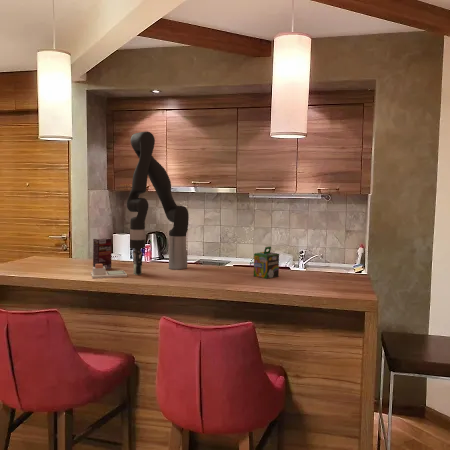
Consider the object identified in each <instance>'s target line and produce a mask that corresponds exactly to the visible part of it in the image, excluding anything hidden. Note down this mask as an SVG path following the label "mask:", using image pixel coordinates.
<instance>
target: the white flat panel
mask: <svg viewBox="0 0 450 450" xmlns="http://www.w3.org/2000/svg"><path fill="white" fill-rule="evenodd" d="M90 276H91V278H92V279H109V278H127V277H128V274H127V273H126V272H125V270H123V269H122V270H106V275H93V271H90Z"/></svg>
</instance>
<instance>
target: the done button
mask: <svg viewBox="0 0 450 450" xmlns="http://www.w3.org/2000/svg"><path fill="white" fill-rule="evenodd" d="M95 268H103V264H95Z"/></svg>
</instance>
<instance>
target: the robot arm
mask: <svg viewBox="0 0 450 450" xmlns="http://www.w3.org/2000/svg"><path fill="white" fill-rule="evenodd" d="M155 142H156V140H155V136H154V134H153V133H152V132H151V131H147V130H146V131H140V132H136V133H133V134H132V135H131V137H130V145H131V147H132V149H133V151H134V153H135V154H136V156H137V157H138V159H139V160H138V162H137V164H136V167H135V169H134V172H133V174H132V182H131V189H130V192H129V195H128V198H127V200H126V207H127V210H128V212H131V213H137V215H136V216H132V217H131V218H130V220H129V221H130V222H129V223H130V225H129V228H130V230H129V231H130V232H129V248H130V249H133V250H134V251H132V257H133V258H132V259H133V263H134V262H136V274H140V275H142V274H141V265H142V266H143V255H144V254H143V252H142V249H145V248H146V219H147V214H148V212H149V211H148V210H149V202H148V200H147V199H146V198H145V197H140V196H141V194H145V193H146V191H147V183H148V179H149V181H150V183H151V185H152V187H153V189H154V190H155V193H156V194H157V197H158V199H159V201H160V203H161V207H162V208H163V211H164V214H165V217H166V219H167V220H168V221H169V222H171V223H173V227H172V228H171V229H170V230H169V231H168V269H170V270H184V269H188V250H187V233H188V231H189V218H190V217H189V216H190V215H189V214H190V213H189V210H188V208H187V207H186V206H184V205H178V204H177V203H176V201H175V200H174V198H173V195H172V183H171V182H172V181H171V179H170V176H169V175H168V172H167V170H166V169H165V168H164V167H163V165H162V164H161V163H160V162H159V161H157V160H156V158H154V156H153V153H154V148H155V144H156V143H155ZM138 262H140V263H138Z"/></svg>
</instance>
